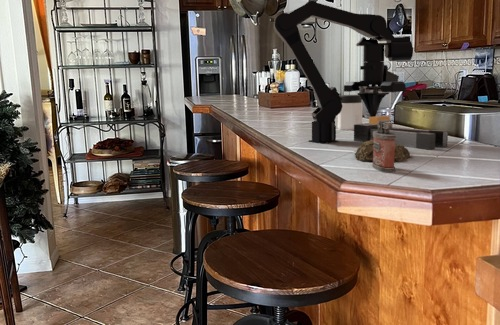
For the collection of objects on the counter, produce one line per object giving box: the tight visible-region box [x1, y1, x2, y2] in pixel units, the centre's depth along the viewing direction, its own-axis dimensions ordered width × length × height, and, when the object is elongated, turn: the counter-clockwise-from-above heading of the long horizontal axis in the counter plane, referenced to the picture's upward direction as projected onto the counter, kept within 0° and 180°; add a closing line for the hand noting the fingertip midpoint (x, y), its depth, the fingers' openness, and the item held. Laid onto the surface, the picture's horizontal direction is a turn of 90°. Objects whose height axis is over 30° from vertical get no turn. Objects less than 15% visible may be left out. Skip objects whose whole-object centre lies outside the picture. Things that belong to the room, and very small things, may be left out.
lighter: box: [371, 120, 396, 174], centre depth 100 cm, size 8×3×10 cm, turn 5°
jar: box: [337, 94, 364, 131], centre depth 172 cm, size 9×8×12 cm
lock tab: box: [368, 115, 391, 125], centre depth 138 cm, size 5×3×2 cm, turn 123°
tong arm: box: [389, 126, 449, 149], centre depth 131 cm, size 2×19×4 cm, turn 38°
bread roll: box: [354, 140, 411, 163], centre depth 113 cm, size 13×12×5 cm
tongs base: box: [353, 122, 436, 151], centre depth 132 cm, size 9×25×5 cm, turn 33°
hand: (372, 117), depth 140 cm, fingers closed
